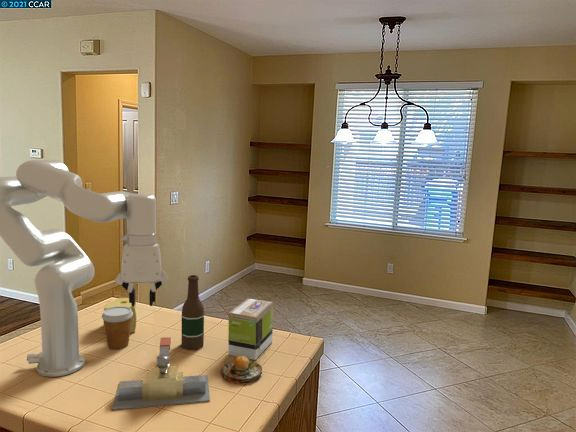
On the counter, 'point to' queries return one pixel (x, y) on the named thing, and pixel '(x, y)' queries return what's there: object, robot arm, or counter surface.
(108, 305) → the cheese
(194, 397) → the mat
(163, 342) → the lever
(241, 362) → the plate of food
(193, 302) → the beer bottle
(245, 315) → the tea box
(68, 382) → the counter surface
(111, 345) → the disposable coffee cup
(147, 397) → the valve
